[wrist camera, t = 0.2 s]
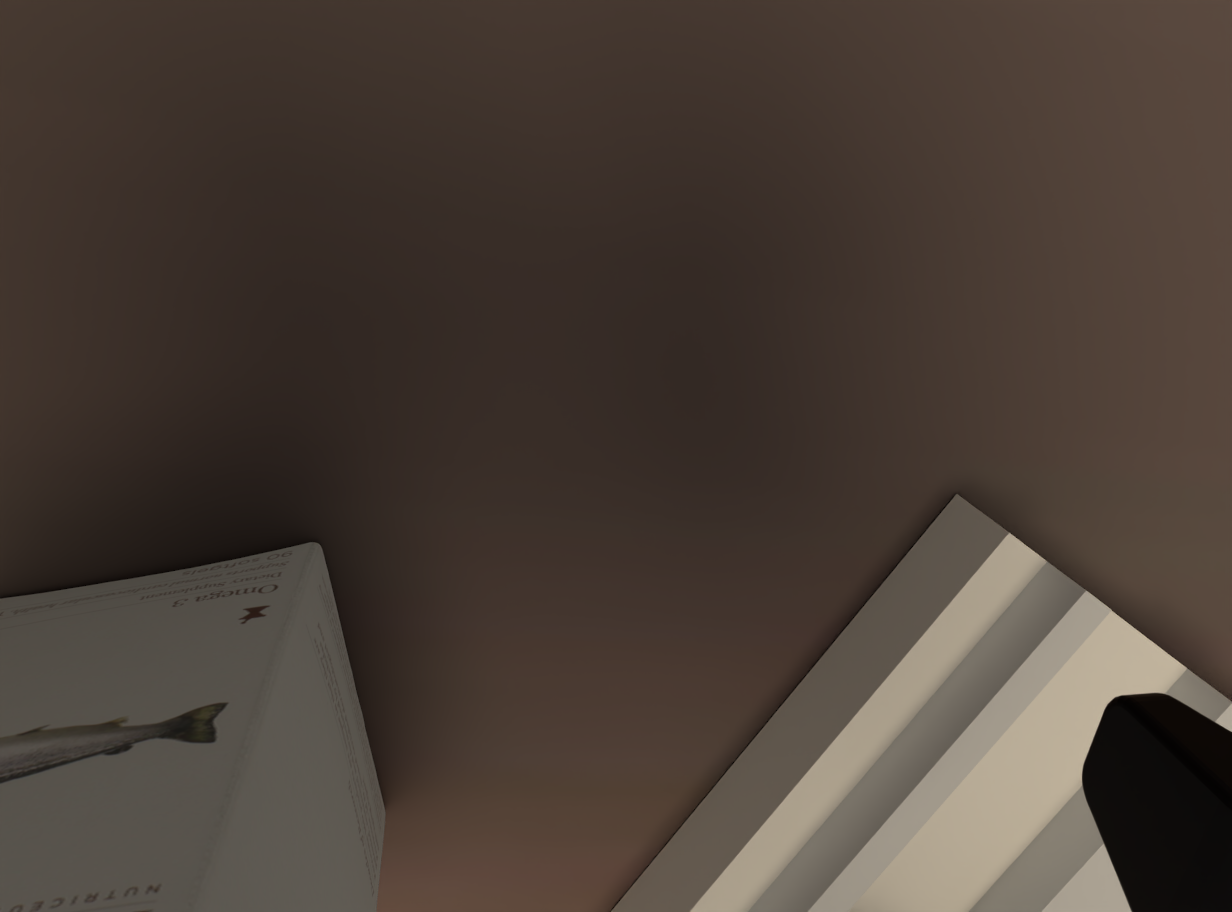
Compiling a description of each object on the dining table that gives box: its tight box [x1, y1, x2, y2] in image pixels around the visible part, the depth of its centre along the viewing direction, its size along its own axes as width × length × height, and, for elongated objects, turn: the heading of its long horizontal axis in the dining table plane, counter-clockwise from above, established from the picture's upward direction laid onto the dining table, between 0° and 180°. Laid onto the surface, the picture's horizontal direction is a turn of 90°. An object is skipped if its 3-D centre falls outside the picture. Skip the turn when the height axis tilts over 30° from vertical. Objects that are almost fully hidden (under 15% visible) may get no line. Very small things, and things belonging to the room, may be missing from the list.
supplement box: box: [0, 542, 386, 912], centre depth 18 cm, size 7×7×13 cm
